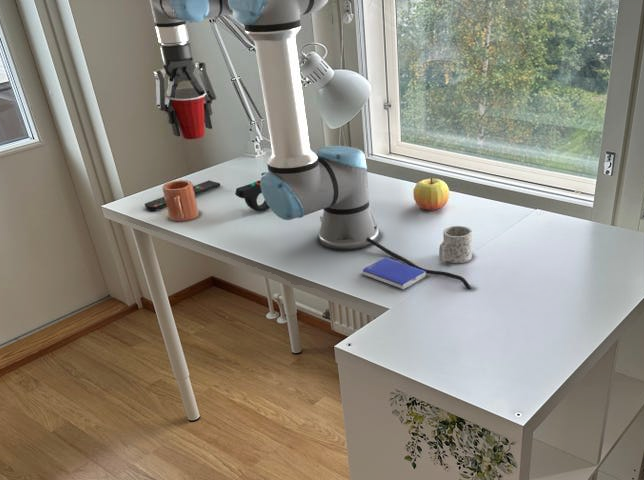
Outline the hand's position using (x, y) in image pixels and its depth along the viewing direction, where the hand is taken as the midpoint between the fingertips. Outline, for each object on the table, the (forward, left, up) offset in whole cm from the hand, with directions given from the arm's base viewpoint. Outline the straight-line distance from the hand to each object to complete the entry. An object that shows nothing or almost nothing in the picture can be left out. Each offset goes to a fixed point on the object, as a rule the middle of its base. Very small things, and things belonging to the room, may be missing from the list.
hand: (193, 131), depth 196 cm
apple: (-49, -43, -22) cm, 69 cm away
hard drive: (-74, -8, -22) cm, 78 cm away
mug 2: (-78, -24, -22) cm, 84 cm away
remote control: (+11, +2, -22) cm, 24 cm away
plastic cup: (0, 0, -2) cm, 2 cm away
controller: (-15, -8, -22) cm, 28 cm away
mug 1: (-4, +10, -21) cm, 24 cm away
